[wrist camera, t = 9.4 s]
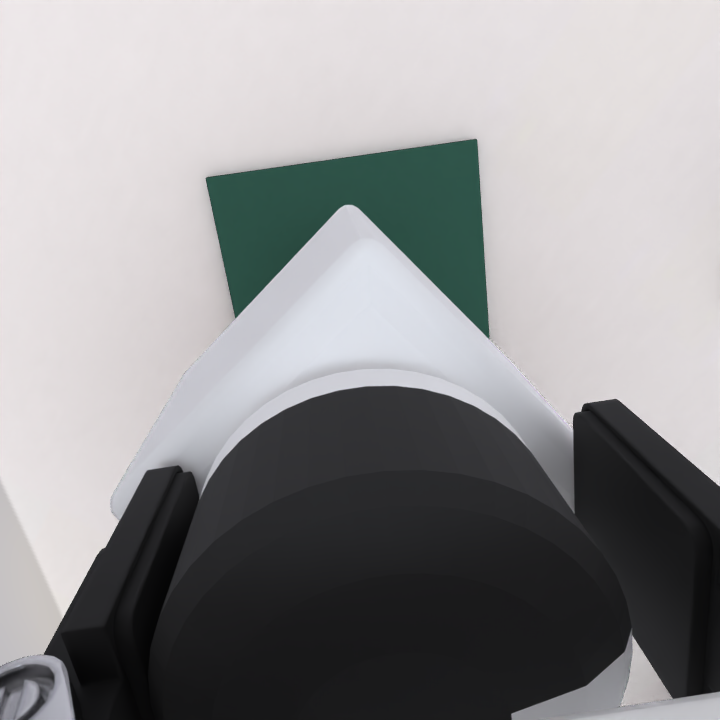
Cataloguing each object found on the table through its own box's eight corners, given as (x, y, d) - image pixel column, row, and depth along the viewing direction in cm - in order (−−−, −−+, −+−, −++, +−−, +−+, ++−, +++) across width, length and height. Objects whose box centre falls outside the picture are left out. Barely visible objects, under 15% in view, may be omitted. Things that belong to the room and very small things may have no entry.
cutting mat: (492, 421, 32) (494, 424, 31) (265, 455, 32) (265, 458, 31) (475, 139, 27) (477, 139, 27) (207, 177, 27) (205, 177, 26)
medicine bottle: (179, 376, 18) (-60, 770, 7) (347, 197, 17) (412, 303, 5) (352, 516, 20) (398, 1004, 9) (516, 366, 18) (829, 711, 7)
